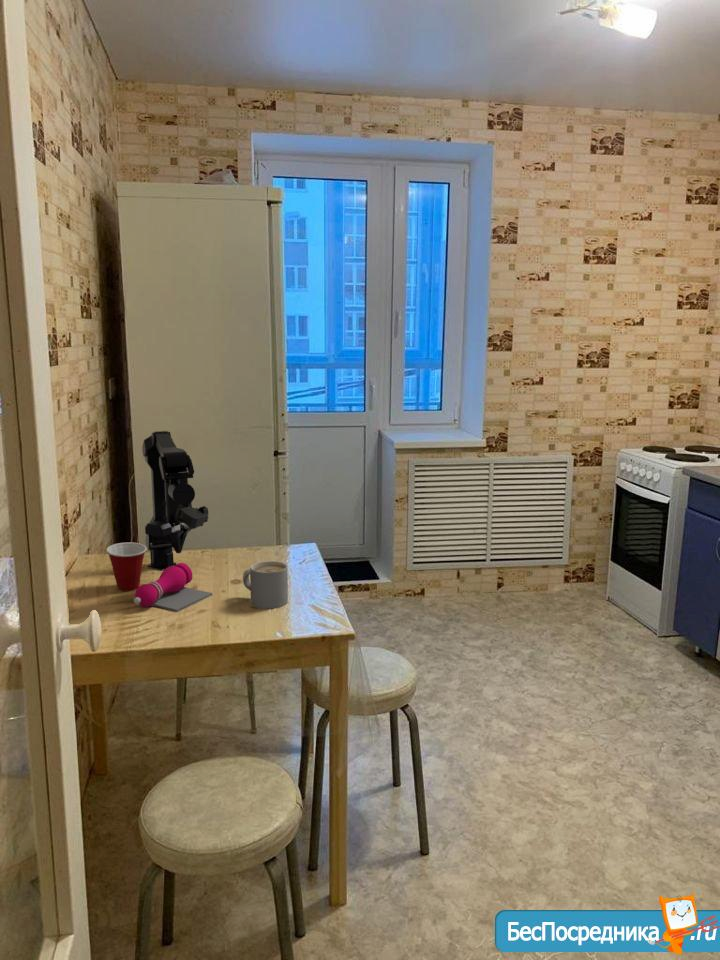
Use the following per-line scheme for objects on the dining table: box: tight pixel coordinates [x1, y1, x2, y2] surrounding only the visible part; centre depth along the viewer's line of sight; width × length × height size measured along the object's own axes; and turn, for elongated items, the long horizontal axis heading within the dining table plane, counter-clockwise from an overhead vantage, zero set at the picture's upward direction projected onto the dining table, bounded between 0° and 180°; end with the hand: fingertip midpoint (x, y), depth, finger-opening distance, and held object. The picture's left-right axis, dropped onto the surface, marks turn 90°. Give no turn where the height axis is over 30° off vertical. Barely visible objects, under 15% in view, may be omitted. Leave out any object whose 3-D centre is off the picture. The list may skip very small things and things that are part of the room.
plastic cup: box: [106, 541, 148, 592], centre depth 197 cm, size 11×11×12 cm
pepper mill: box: [133, 562, 194, 608], centre depth 189 cm, size 7×7×20 cm
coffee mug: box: [242, 560, 289, 610], centre depth 189 cm, size 13×10×10 cm
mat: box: [131, 586, 213, 613], centre depth 191 cm, size 16×14×1 cm
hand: (178, 552), depth 191 cm, fingers closed
